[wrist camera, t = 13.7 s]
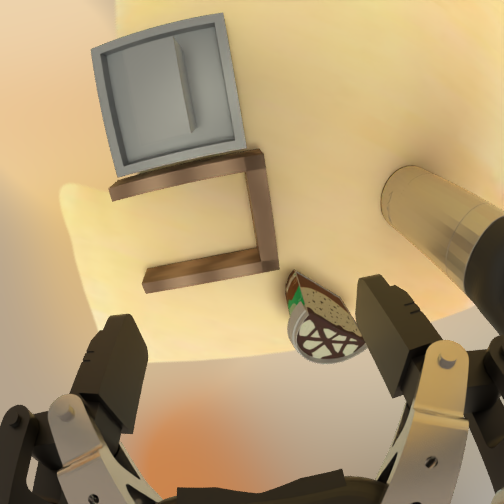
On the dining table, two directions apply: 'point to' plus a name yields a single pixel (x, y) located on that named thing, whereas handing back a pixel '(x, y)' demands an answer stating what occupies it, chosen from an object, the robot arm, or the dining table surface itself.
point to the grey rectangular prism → (159, 90)
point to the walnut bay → (218, 265)
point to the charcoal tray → (201, 89)
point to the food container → (320, 323)
